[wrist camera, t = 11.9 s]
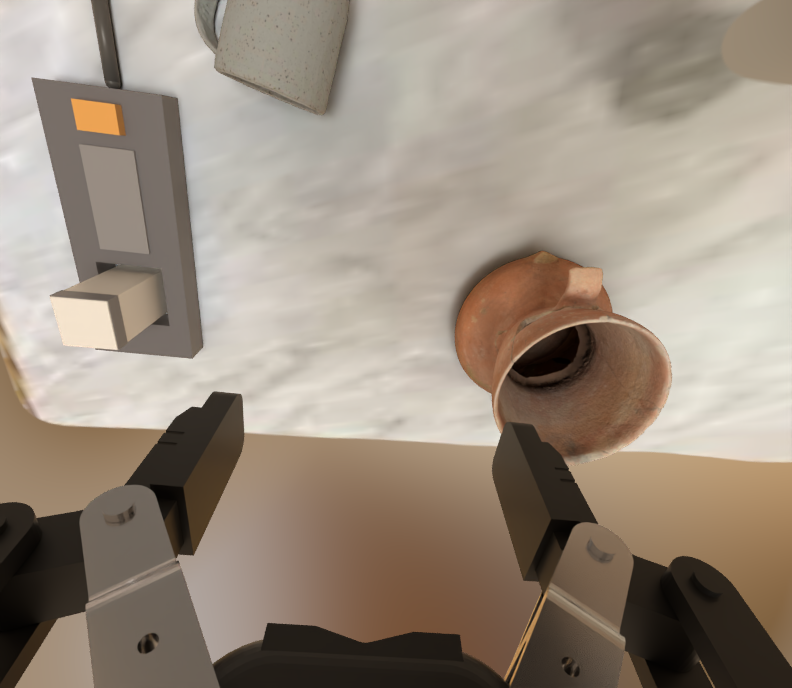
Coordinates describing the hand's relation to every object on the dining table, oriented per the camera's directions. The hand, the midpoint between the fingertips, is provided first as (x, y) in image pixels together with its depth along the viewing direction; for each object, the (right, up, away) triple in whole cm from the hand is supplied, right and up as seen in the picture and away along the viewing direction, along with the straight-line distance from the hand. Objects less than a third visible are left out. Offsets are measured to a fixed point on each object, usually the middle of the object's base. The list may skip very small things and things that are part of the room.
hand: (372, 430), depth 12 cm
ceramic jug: (+13, +5, +29) cm, 32 cm away
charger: (-23, +8, +26) cm, 36 cm away
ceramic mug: (-8, +26, +18) cm, 32 cm away
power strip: (-22, +16, +22) cm, 35 cm away
